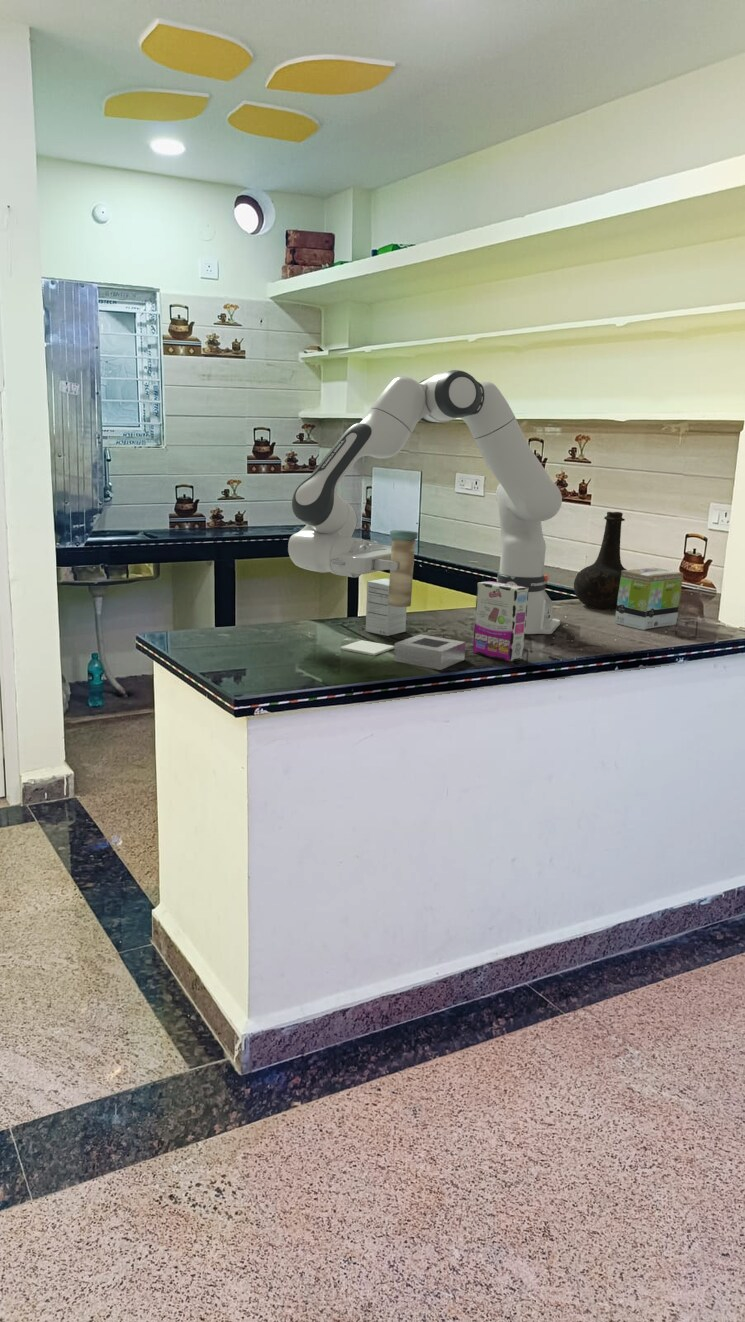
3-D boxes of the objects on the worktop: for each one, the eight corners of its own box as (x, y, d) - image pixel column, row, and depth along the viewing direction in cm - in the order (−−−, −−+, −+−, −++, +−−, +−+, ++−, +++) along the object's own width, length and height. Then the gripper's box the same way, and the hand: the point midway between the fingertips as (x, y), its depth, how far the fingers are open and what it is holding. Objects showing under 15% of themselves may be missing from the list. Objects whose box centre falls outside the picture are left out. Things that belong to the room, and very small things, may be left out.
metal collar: (419, 651, 210) (420, 634, 209) (464, 659, 204) (465, 642, 203) (393, 661, 200) (394, 643, 199) (440, 670, 195) (441, 651, 194)
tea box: (645, 631, 242) (651, 575, 238) (613, 623, 249) (619, 569, 245) (677, 625, 251) (684, 571, 247) (646, 618, 259) (652, 566, 255)
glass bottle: (560, 605, 272) (569, 509, 265) (595, 599, 284) (604, 507, 277) (611, 615, 260) (622, 515, 253) (646, 609, 271) (657, 513, 264)
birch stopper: (394, 601, 207) (398, 529, 203) (417, 604, 204) (422, 532, 200) (380, 604, 202) (384, 531, 198) (404, 608, 199) (409, 534, 195)
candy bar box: (524, 659, 207) (530, 587, 203) (510, 662, 203) (516, 589, 199) (485, 649, 214) (490, 579, 210) (471, 652, 211) (476, 581, 207)
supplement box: (383, 627, 233) (385, 577, 230) (406, 632, 229) (408, 581, 225) (364, 631, 227) (366, 580, 224) (387, 636, 223) (390, 585, 220)
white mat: (361, 642, 216) (361, 640, 216) (394, 648, 212) (394, 646, 211) (340, 649, 209) (340, 647, 208) (374, 655, 204) (374, 653, 204)
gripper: (326, 547, 198) (381, 554, 191) (375, 539, 215) (427, 546, 208) (325, 576, 199) (380, 584, 192) (374, 566, 216) (426, 574, 210)
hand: (405, 564), depth 200 cm, fingers closed on birch stopper, 5 cm apart
